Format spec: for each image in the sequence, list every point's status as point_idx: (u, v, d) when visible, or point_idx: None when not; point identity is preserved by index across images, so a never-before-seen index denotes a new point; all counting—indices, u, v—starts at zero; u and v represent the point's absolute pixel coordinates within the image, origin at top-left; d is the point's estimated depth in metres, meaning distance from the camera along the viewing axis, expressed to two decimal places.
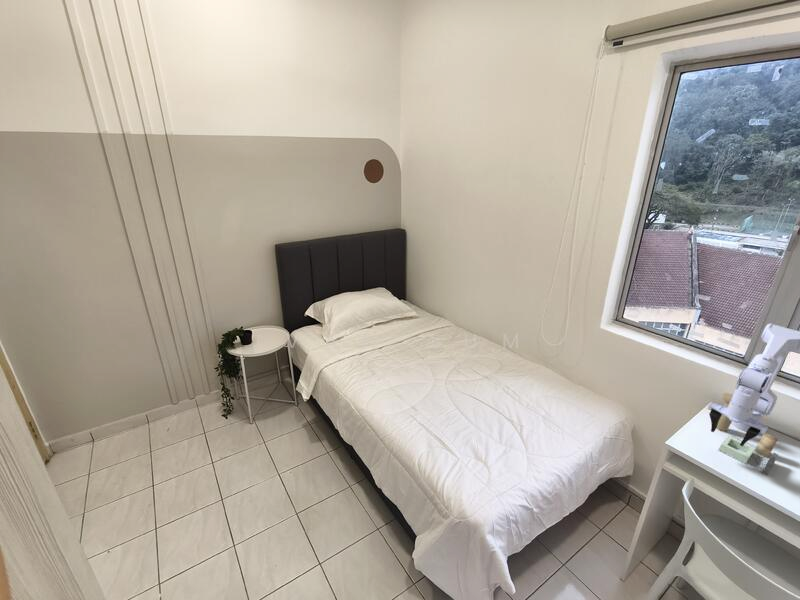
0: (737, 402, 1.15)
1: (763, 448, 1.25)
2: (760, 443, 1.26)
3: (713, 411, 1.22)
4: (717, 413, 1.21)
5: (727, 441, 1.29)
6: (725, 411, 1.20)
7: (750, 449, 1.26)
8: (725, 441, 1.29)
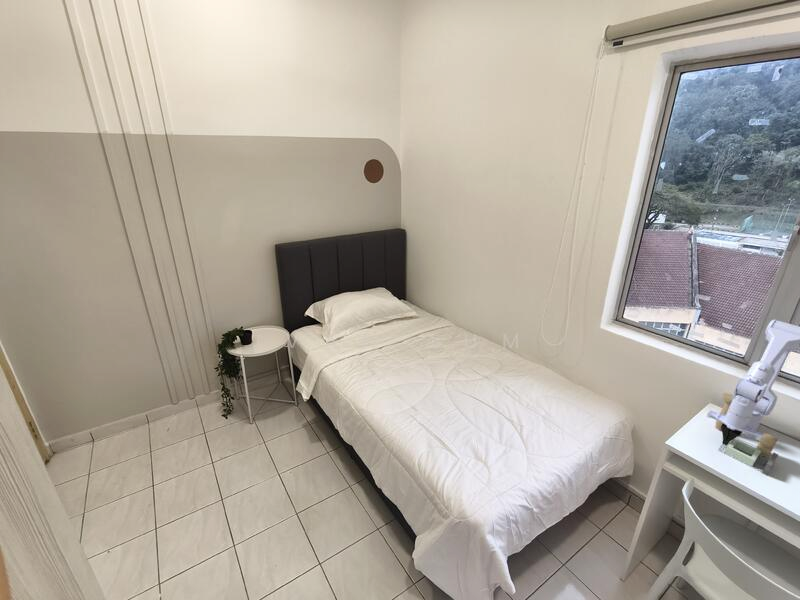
0: (734, 410, 1.23)
1: (763, 448, 1.25)
2: (760, 443, 1.26)
3: (724, 424, 1.28)
4: None
5: (733, 444, 1.28)
6: (723, 419, 1.28)
7: (756, 452, 1.24)
8: (731, 444, 1.28)
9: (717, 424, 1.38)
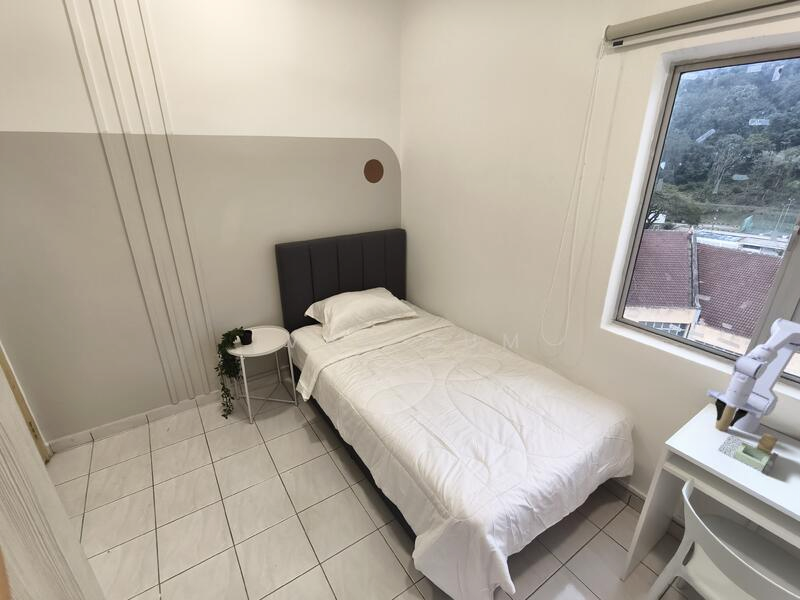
0: (733, 387, 1.23)
1: (763, 448, 1.25)
2: (760, 443, 1.26)
3: (719, 400, 1.28)
4: None
5: (742, 448, 1.26)
6: (723, 397, 1.27)
7: (766, 456, 1.23)
8: (740, 448, 1.26)
9: (717, 424, 1.38)
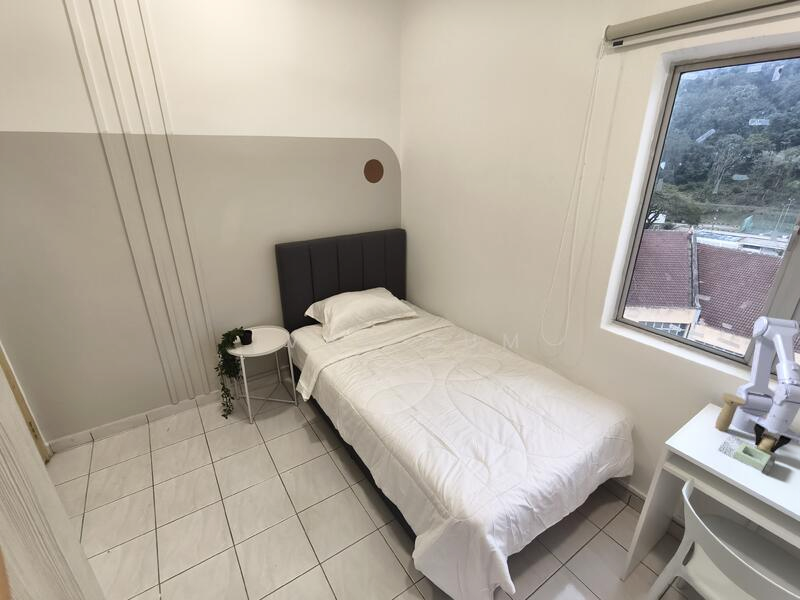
0: (783, 417, 1.19)
1: (763, 448, 1.25)
2: (760, 443, 1.26)
3: (757, 425, 1.26)
4: (755, 424, 1.27)
5: (742, 448, 1.26)
6: (763, 422, 1.25)
7: (766, 456, 1.23)
8: (740, 448, 1.26)
9: (717, 424, 1.38)
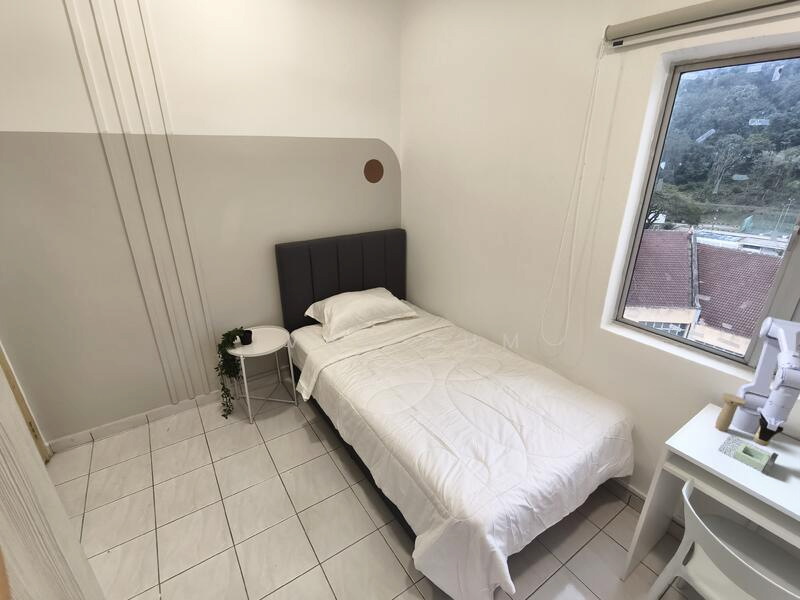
0: (779, 403, 1.14)
1: None
2: None
3: None
4: None
5: (742, 448, 1.26)
6: None
7: (766, 456, 1.23)
8: (740, 448, 1.26)
9: (717, 424, 1.38)
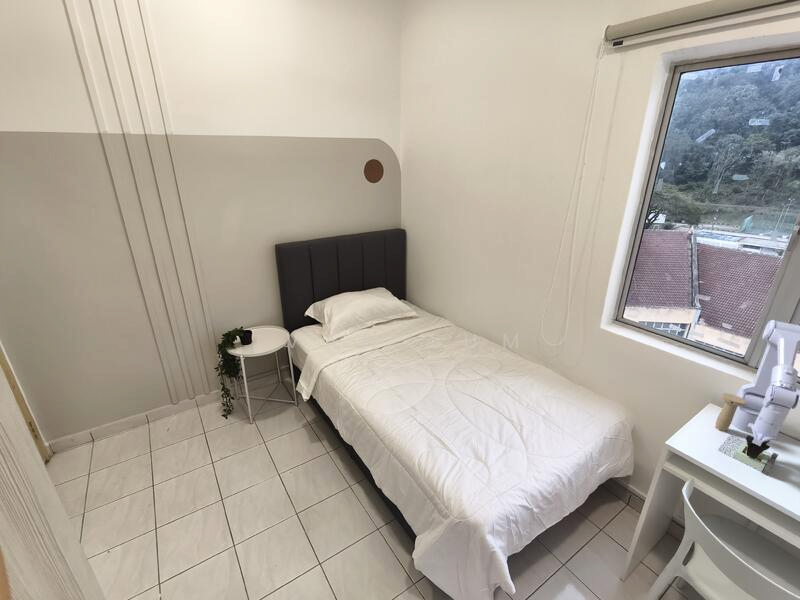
0: (769, 420, 1.17)
1: None
2: None
3: None
4: None
5: (742, 448, 1.26)
6: None
7: (766, 456, 1.23)
8: (740, 448, 1.26)
9: (717, 424, 1.38)
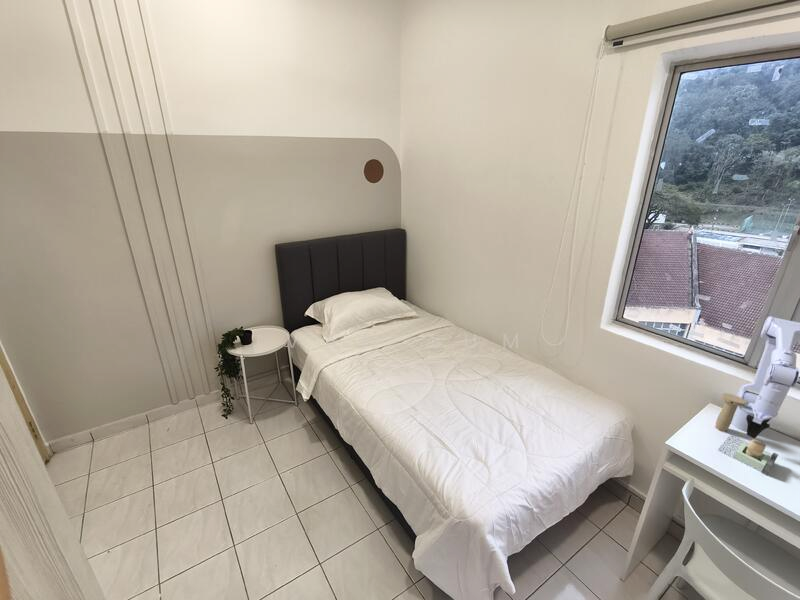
0: (768, 398, 1.18)
1: (747, 449, 1.25)
2: None
3: None
4: None
5: (742, 448, 1.26)
6: None
7: (766, 456, 1.23)
8: (740, 448, 1.26)
9: (717, 424, 1.38)
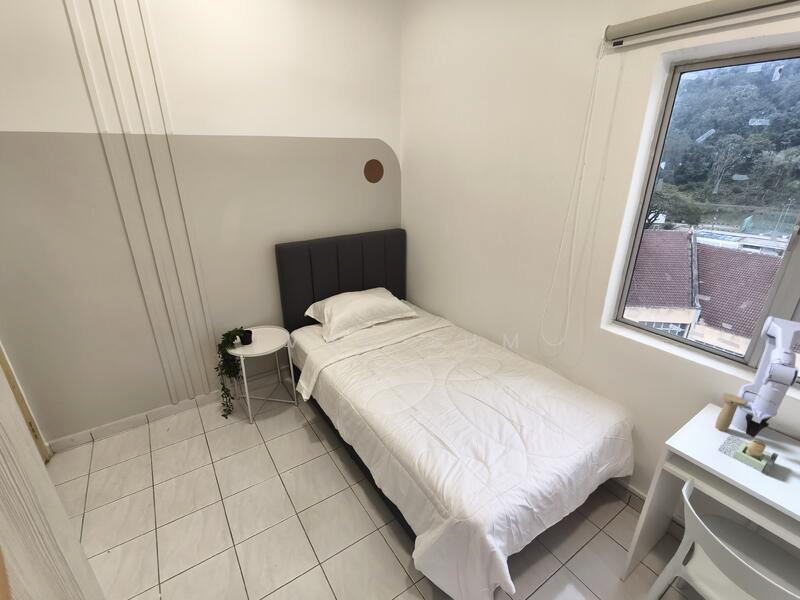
0: (767, 397, 1.18)
1: (747, 449, 1.25)
2: None
3: None
4: None
5: (742, 448, 1.26)
6: None
7: (766, 456, 1.23)
8: (740, 448, 1.26)
9: (717, 424, 1.38)
